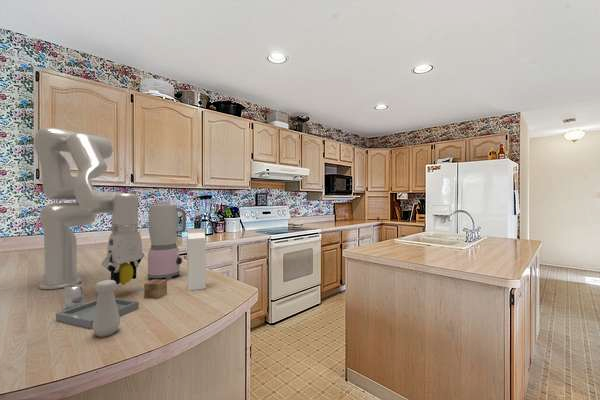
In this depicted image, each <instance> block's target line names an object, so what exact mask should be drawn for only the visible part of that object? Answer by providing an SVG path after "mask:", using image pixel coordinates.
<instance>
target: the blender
mask: <svg viewBox="0 0 600 400" xmlns="http://www.w3.org/2000/svg"><path fill="white" fill-rule="evenodd" d="M179 213H180V214H181V228H179ZM147 219H148V220H147V221H148V222H147V223H148V233H149V240H150V249H149V250H148V253H147V279H148V280H151V279H163V278H165V280H167V281H170V280H172V279H173V277H174V276H180V275H181V273H180V271H181V270H180V265H181V264H182V263H183V259H182V257H181V256H180V254H181V253H180V250H179V248H178V246H177V238H178V234H180V233H184V232H185V231H186V229H187V212H186V211H185V210H184V208H180V207H178V204H174V203H172V204H171V201H156V204H149V205H148V218H147Z"/></svg>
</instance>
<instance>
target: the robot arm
mask: <svg viewBox="0 0 600 400" xmlns="http://www.w3.org/2000/svg"><path fill="white" fill-rule="evenodd" d="M33 145H34V146H33V147H34V150H35V153H36V156H37V158H38V160H39V163H40V171H41V172H40V173H41V181H42V190H43V193H44V196H45V197H46V198H47V199H49V200H55V201H59V200H60V201H63V200H64V201H65V200H66V201H68V200H69V201H70V200H72V201H73V200H75V202H57V203H54V202H53V203H50V204H47V205H45V206H44V207H42V209H41V210H40V212H39V213H40V214H39V217H40V222H41V225H42V232H43V242H44V243H43V247H44V249H43V250H44V255H43V256H44V257H43V258H44V273H43V275H42V278H44V282H41V283H39V289H41V290H58V289H63V288H64V289H65V287H66V286H69V285H74V284H81V283H82V282H83V278H82V277H80V276H78V264H77V263H78V258H77V256H78V255H77V254H78V253H77V252H78V251H77V250H78V247H77V246H78V245H77V237H76V235H75V233H74V232H73V231H72V230H71V228H72V227H81V226H89V225H92V224H93V223H94V222H95V221H96V217H97V214H112V216H111V217H112V221H111V226H110V227H109V228H108V230H109V231H110V232H111V233H110V234H109V238H108V242H107V248H106V249H107V250H106V257H105V258H104V259H103V260H102V261H101V263H100V264H101V265H100V266H103V268H105V269H106V270H108V271H109V272H110V280H114V281H116V285H119V284H121V283H120V273H119V272H118V270H119V267H120V264H123V263H129V264H130V265H131V266H132V267H133V277H132V279H133V280H136V279H137V268H138V267H139V265H140V263H141V262H142V260H143V258H145V253H144V252H143V244H142V243H143V242H142V236H141V232H140V231H138V230H139V229H138V228H139V226H138V225H139V196H138V195H137V193H133V192H132V193H129V192H128V193H127V192H121V191H120V192H119V191H101V190H100V191H94V190H95V189H94V184H93V183H92V182H91V180H93V179H96V178H98V177H101V176H102V175H103V174H105V173H106V172H107V170H108V165H107V163H106V161H105V160H104V159H109V158H110V157H112V155H113V151H114V149H113V145H112V143H111V142H110V140H109V139H108V138H105V137H104V136H98V135H94V134H88V133H82V132H77V131H73V130H68V129H63V128H57V127H42V128H40V129H38V130H37V132H36V133H35V136H34V139H33ZM61 152H64V153H70V155H71V158H72V159H73V161H74V163H75V166H76V168H77V170H78V172H79V173H78V174H77V175H76V176H75V175H74V176H72V174H71V167H70V166H71V165H70V163H69V162H68V160H67V159H66V157H64V155H62V153H61ZM132 279H131V280H132Z"/></svg>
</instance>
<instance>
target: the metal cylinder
mask: <svg viewBox="0 0 600 400" xmlns="http://www.w3.org/2000/svg"><path fill="white" fill-rule="evenodd" d="M82 304H85V302H84V284H83V283H79V284H74V285H69V286H66V287H64V311H65V310H68V309H71V308H74V307H76V306H79V305H82Z"/></svg>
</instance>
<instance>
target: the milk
mask: <svg viewBox="0 0 600 400" xmlns="http://www.w3.org/2000/svg"><path fill="white" fill-rule="evenodd" d="M206 239H207V238H206V234H205V228H203V227H202V228H188V229H187V235H186V252H187V253H186V255H187V256H186V264H187V265H186V269H187V270H186V271H187V275H186V277H187V278H186V279H187V289H188V291H189V292H190V291H198V290H202V289H203V290H204V289H206V288H207V269H206V267H207V264H206V262H207V260H206V259H207V258H206V254H207V253H206V252H207V249H206V247H207V246H206Z"/></svg>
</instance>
